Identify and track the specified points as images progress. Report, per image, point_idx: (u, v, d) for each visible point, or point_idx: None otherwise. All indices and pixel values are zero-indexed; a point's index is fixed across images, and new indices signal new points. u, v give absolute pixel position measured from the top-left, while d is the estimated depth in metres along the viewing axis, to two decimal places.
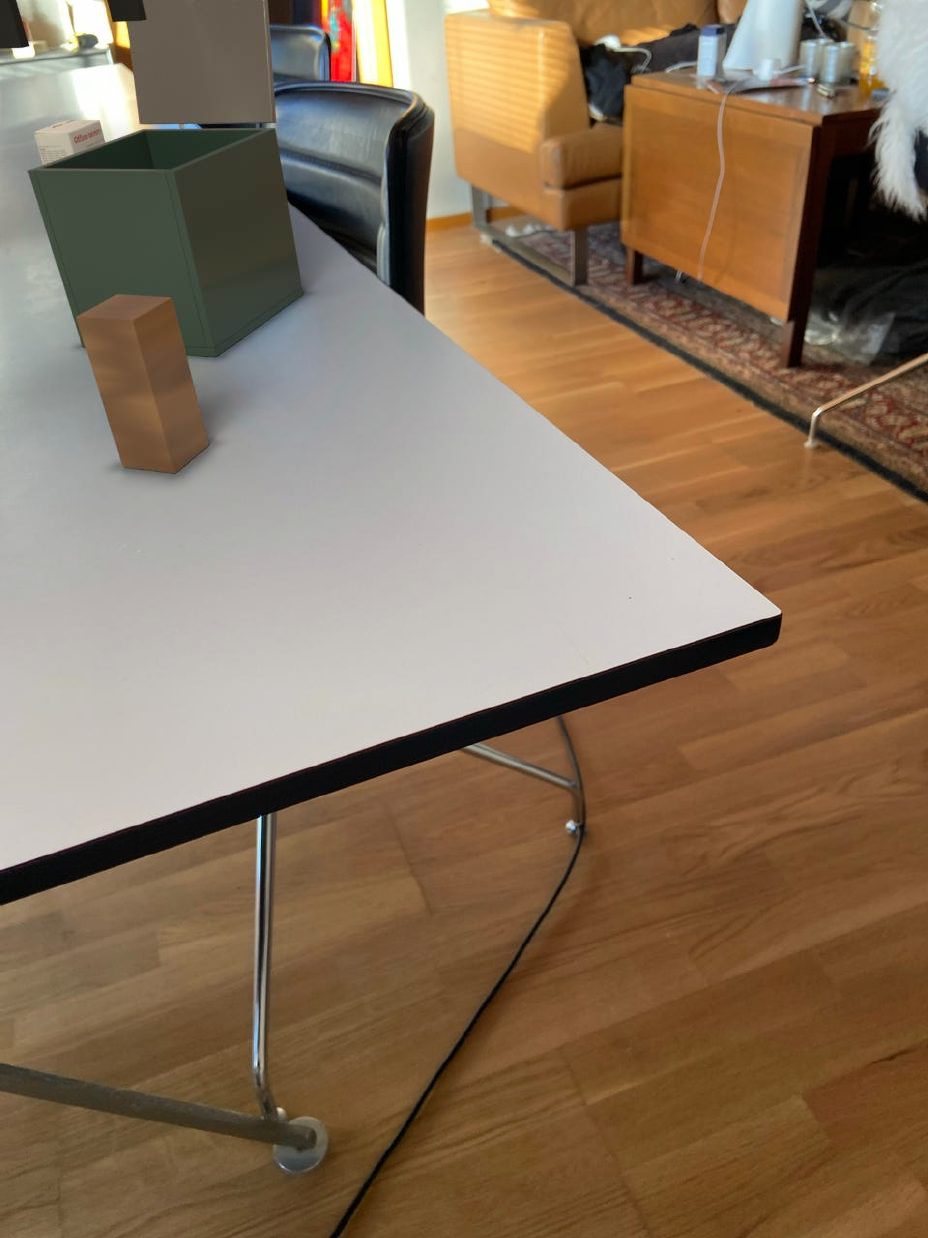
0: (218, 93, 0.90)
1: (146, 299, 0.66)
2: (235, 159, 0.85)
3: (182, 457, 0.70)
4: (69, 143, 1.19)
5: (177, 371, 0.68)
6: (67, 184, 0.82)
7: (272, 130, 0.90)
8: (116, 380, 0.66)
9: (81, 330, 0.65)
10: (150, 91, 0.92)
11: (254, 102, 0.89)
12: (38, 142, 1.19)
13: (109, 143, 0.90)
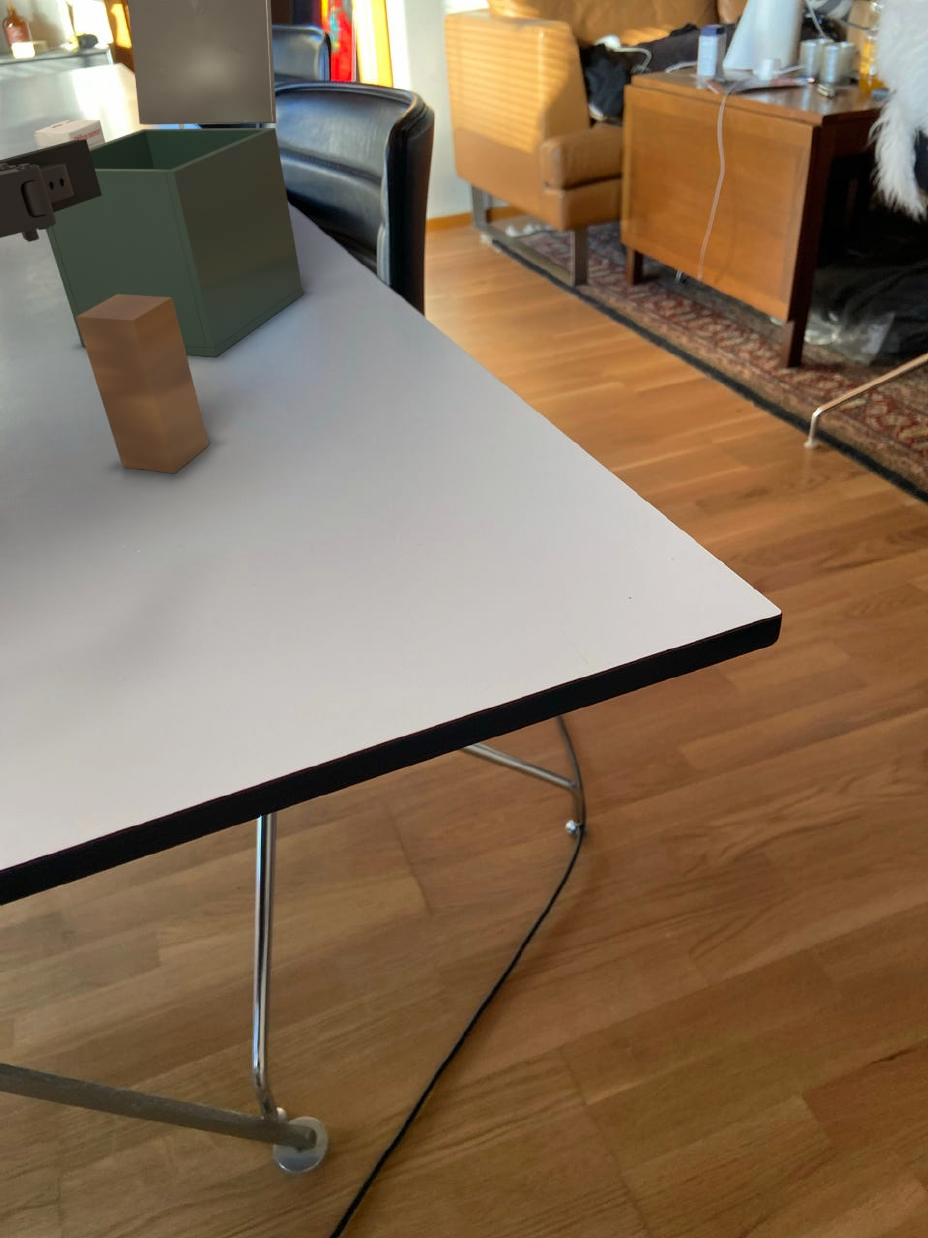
0: (219, 93, 0.90)
1: (146, 299, 0.66)
2: (235, 159, 0.85)
3: (182, 457, 0.70)
4: None
5: (177, 371, 0.68)
6: None
7: (272, 130, 0.90)
8: (116, 380, 0.66)
9: (81, 330, 0.65)
10: (151, 91, 0.92)
11: (254, 102, 0.89)
12: (38, 142, 1.19)
13: (109, 143, 0.90)
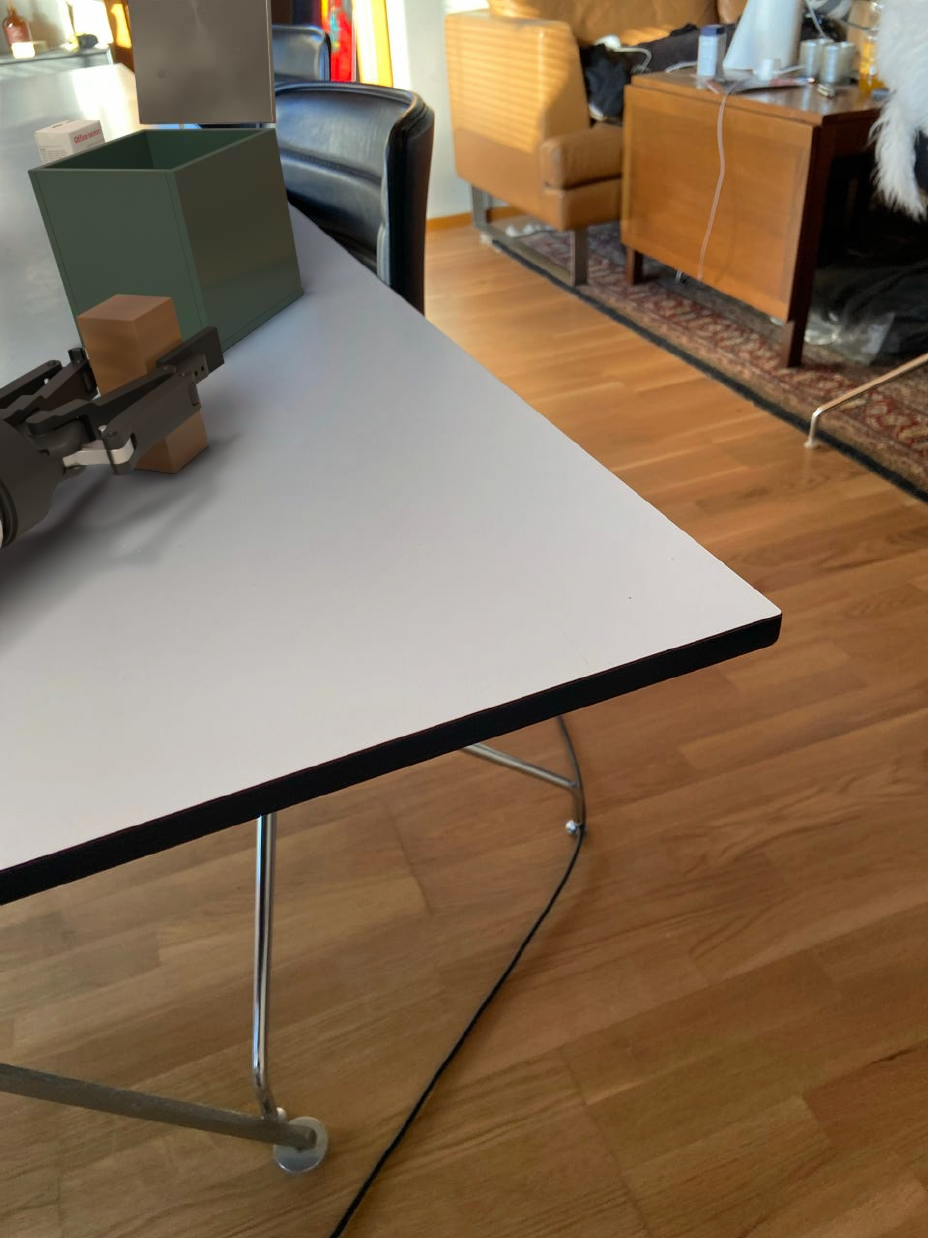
0: (219, 93, 0.90)
1: (146, 299, 0.66)
2: (235, 159, 0.85)
3: (182, 457, 0.70)
4: (69, 143, 1.19)
5: None
6: (67, 184, 0.82)
7: (272, 130, 0.90)
8: (115, 380, 0.66)
9: (81, 330, 0.65)
10: (151, 91, 0.92)
11: (254, 102, 0.89)
12: (38, 142, 1.19)
13: (109, 143, 0.90)
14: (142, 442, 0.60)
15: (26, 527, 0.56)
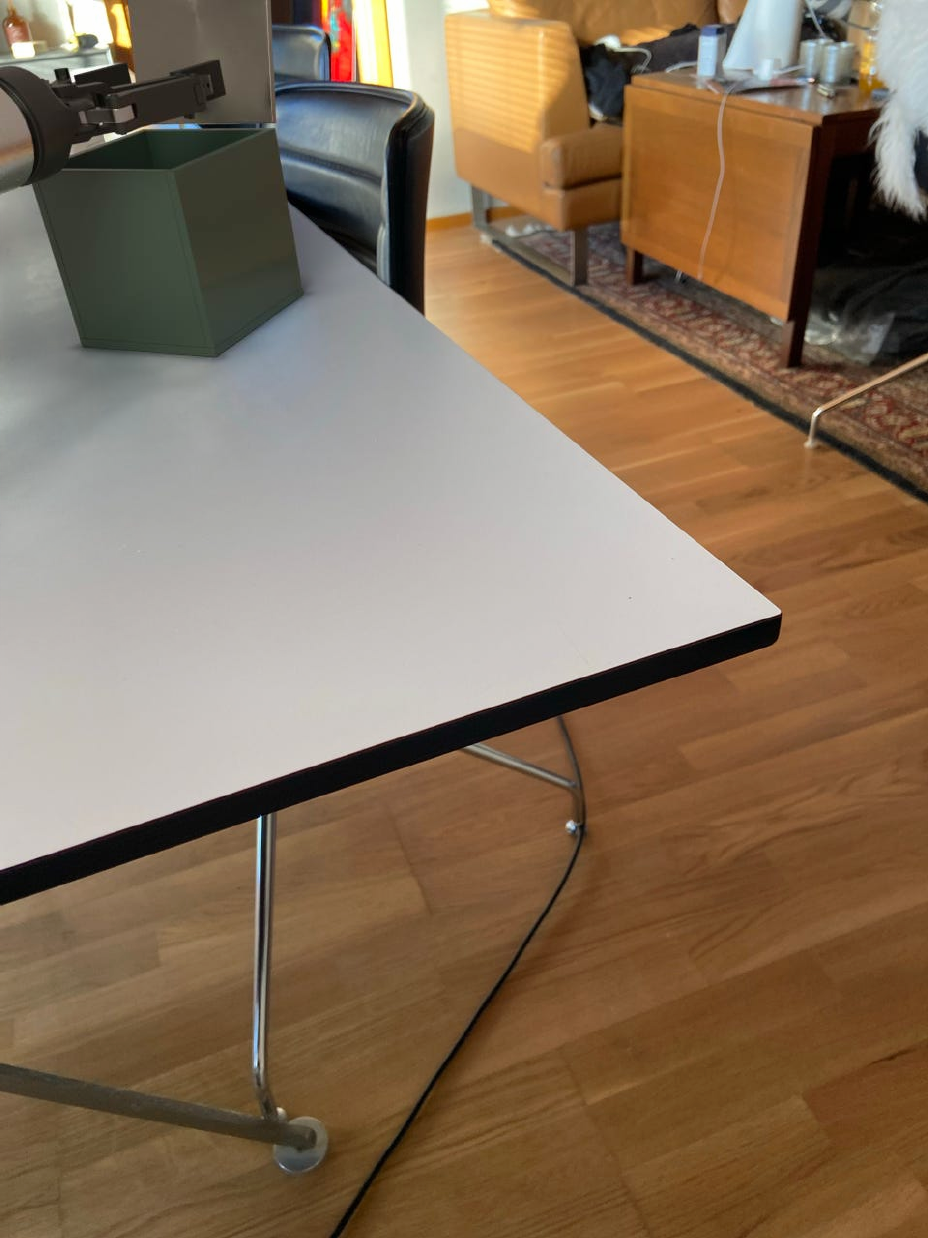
0: None
1: None
2: (235, 159, 0.85)
3: None
4: None
5: None
6: (67, 184, 0.82)
7: (272, 130, 0.90)
8: None
9: None
10: None
11: (254, 102, 0.89)
12: None
13: (109, 143, 0.90)
14: (144, 115, 0.74)
15: (51, 163, 0.71)
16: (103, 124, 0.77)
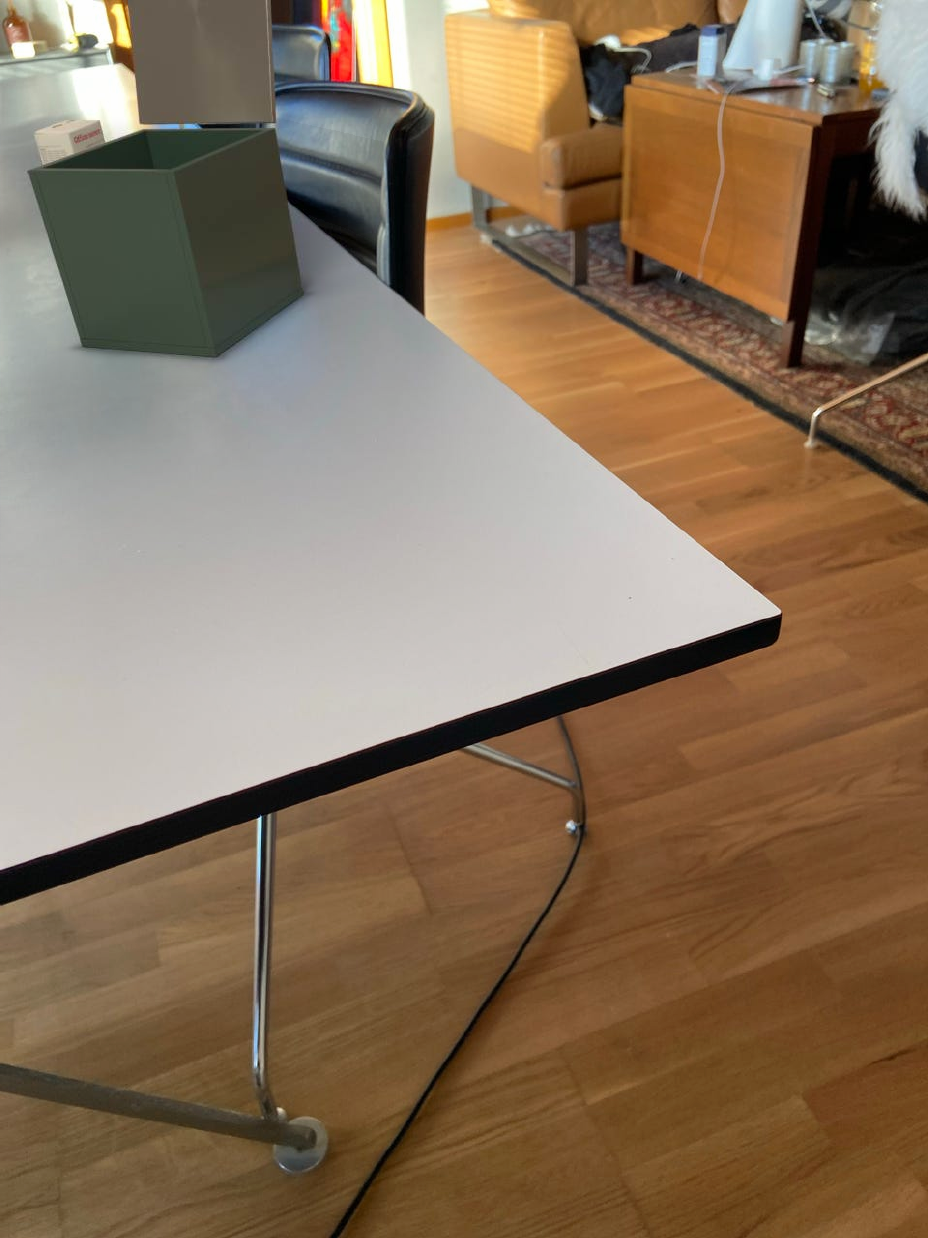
0: (219, 93, 0.90)
1: None
2: (235, 159, 0.85)
3: None
4: (69, 143, 1.19)
5: None
6: (67, 184, 0.82)
7: (272, 130, 0.90)
8: None
9: None
10: (151, 91, 0.92)
11: (254, 102, 0.89)
12: (38, 142, 1.19)
13: (109, 143, 0.90)
14: None
15: None
16: None
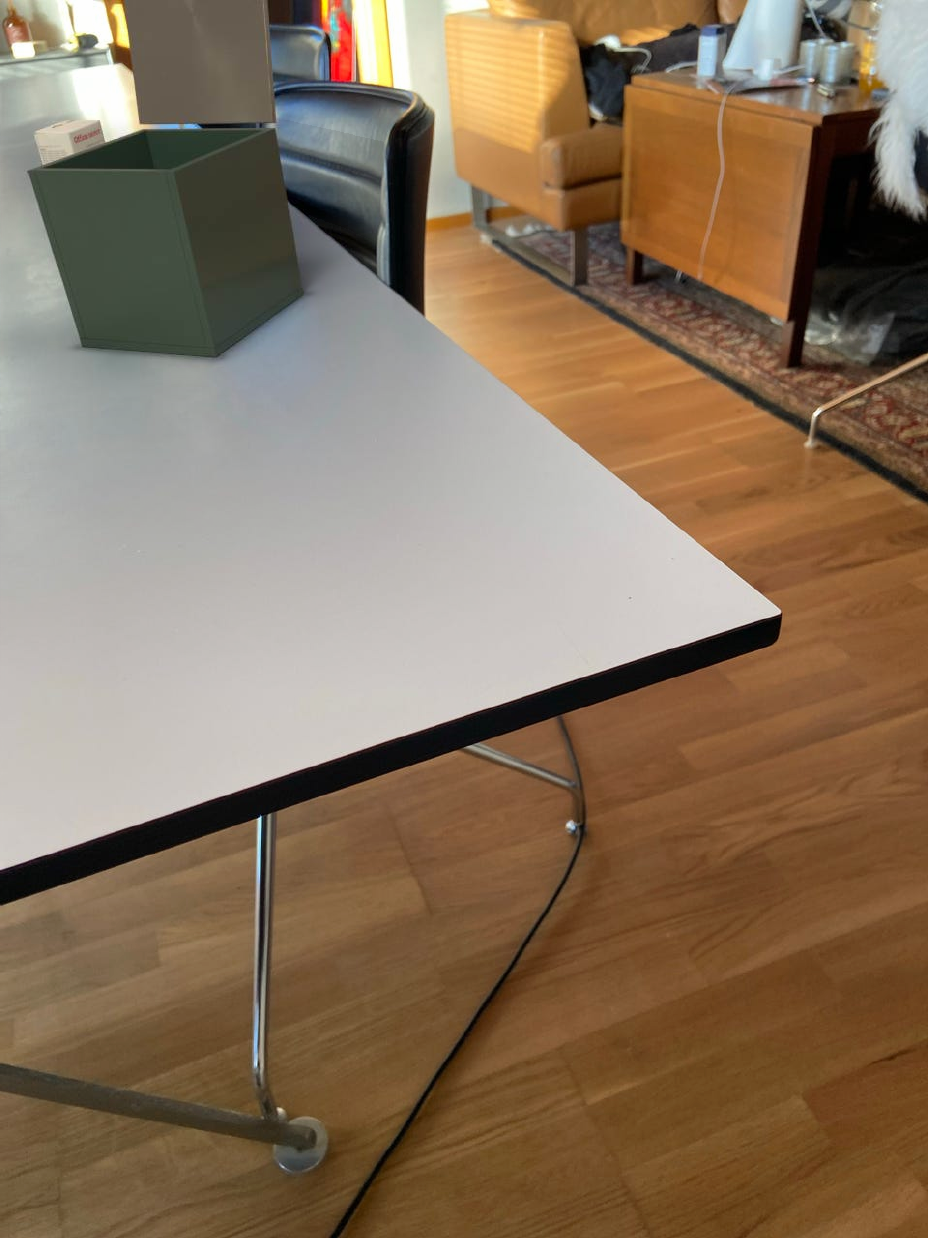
0: (218, 93, 0.90)
1: None
2: (235, 159, 0.85)
3: None
4: (69, 143, 1.19)
5: None
6: (67, 184, 0.82)
7: (272, 130, 0.90)
8: None
9: None
10: (150, 91, 0.92)
11: (254, 102, 0.89)
12: (38, 142, 1.19)
13: (109, 143, 0.90)
14: None
15: None
16: None
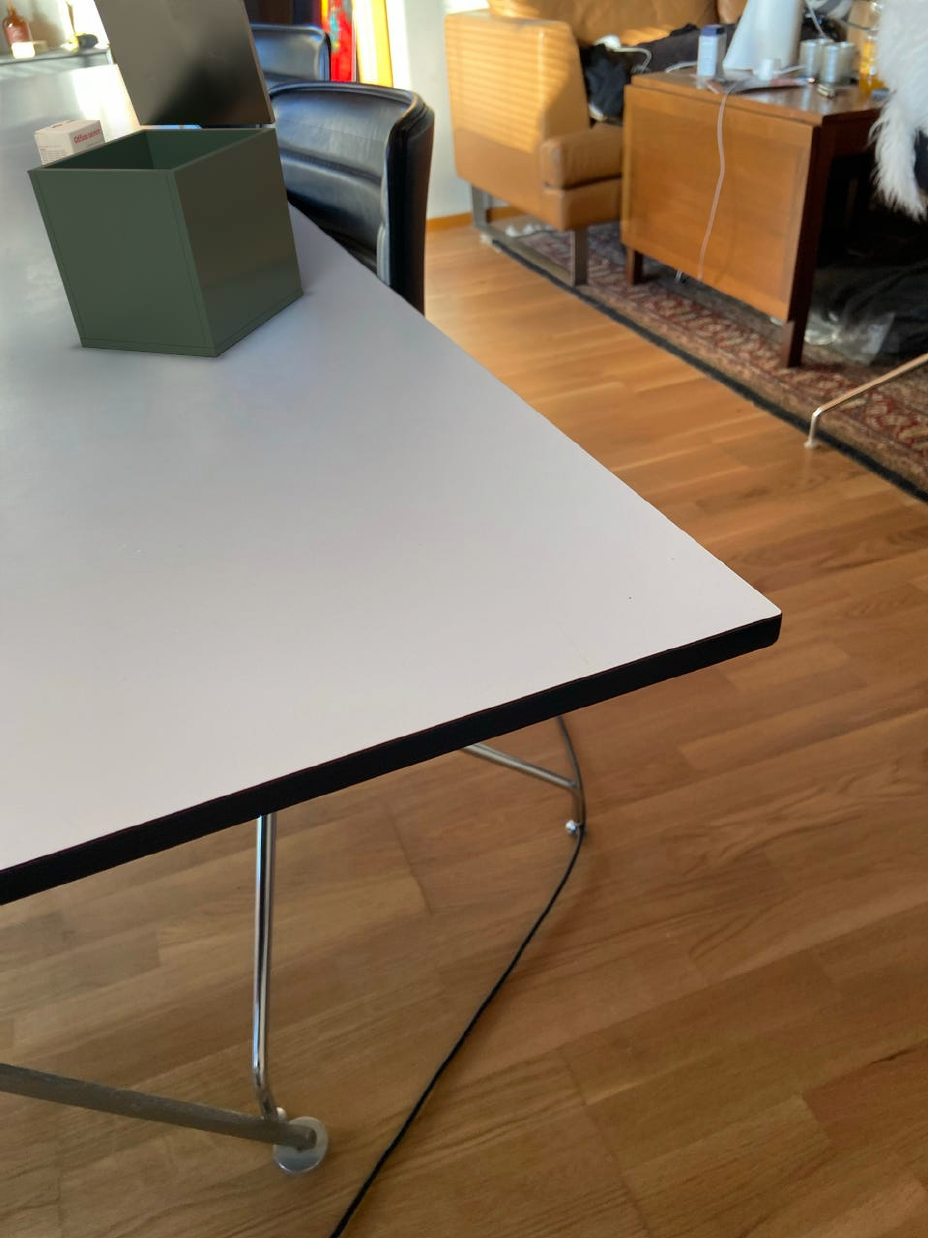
0: (213, 97, 0.89)
1: None
2: (235, 159, 0.85)
3: None
4: (69, 143, 1.19)
5: None
6: (67, 184, 0.82)
7: (272, 130, 0.90)
8: None
9: None
10: (143, 95, 0.92)
11: (251, 105, 0.89)
12: (38, 142, 1.19)
13: (109, 143, 0.90)
14: None
15: None
16: None
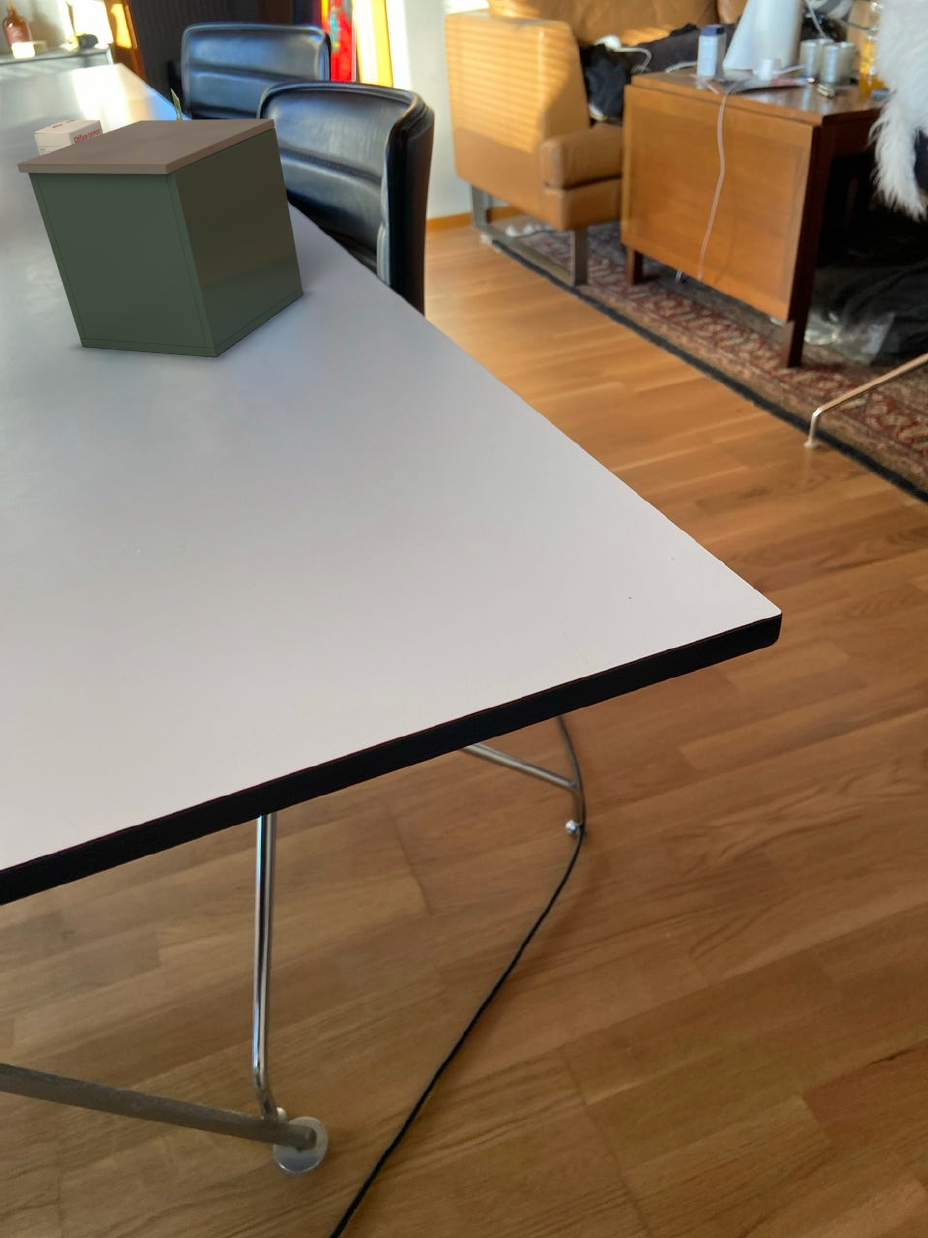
0: None
1: None
2: (235, 159, 0.85)
3: None
4: (69, 143, 1.19)
5: None
6: (67, 184, 0.82)
7: (272, 130, 0.90)
8: None
9: None
10: None
11: None
12: (38, 142, 1.19)
13: None
14: None
15: None
16: None
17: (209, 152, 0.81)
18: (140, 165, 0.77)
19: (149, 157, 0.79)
